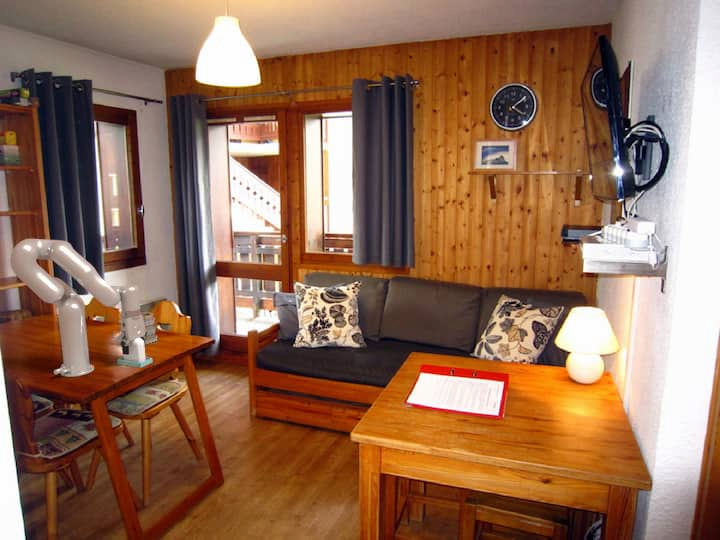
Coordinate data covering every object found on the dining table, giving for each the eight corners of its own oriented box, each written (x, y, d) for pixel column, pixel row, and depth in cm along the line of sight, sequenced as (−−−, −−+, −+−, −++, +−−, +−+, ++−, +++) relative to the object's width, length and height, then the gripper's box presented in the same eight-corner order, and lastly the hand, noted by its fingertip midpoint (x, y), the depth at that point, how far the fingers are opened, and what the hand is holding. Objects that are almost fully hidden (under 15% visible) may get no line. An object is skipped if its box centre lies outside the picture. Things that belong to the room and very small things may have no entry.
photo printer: (122, 363, 228) (120, 336, 226) (130, 360, 232) (127, 334, 230) (140, 366, 224) (138, 339, 222) (147, 363, 228) (145, 336, 226)
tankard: (145, 336, 268) (143, 308, 266) (162, 339, 262) (160, 311, 260) (111, 347, 251) (109, 317, 249) (128, 350, 245) (126, 320, 243)
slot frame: (141, 367, 223) (140, 363, 222) (117, 364, 227) (117, 359, 227) (152, 362, 229) (152, 358, 229) (129, 359, 233) (129, 354, 233)
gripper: (122, 319, 215) (126, 357, 218) (152, 309, 231) (154, 345, 234) (109, 317, 217) (112, 356, 220) (139, 308, 234) (141, 344, 236)
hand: (134, 350), depth 227 cm, fingers open, 9 cm apart
